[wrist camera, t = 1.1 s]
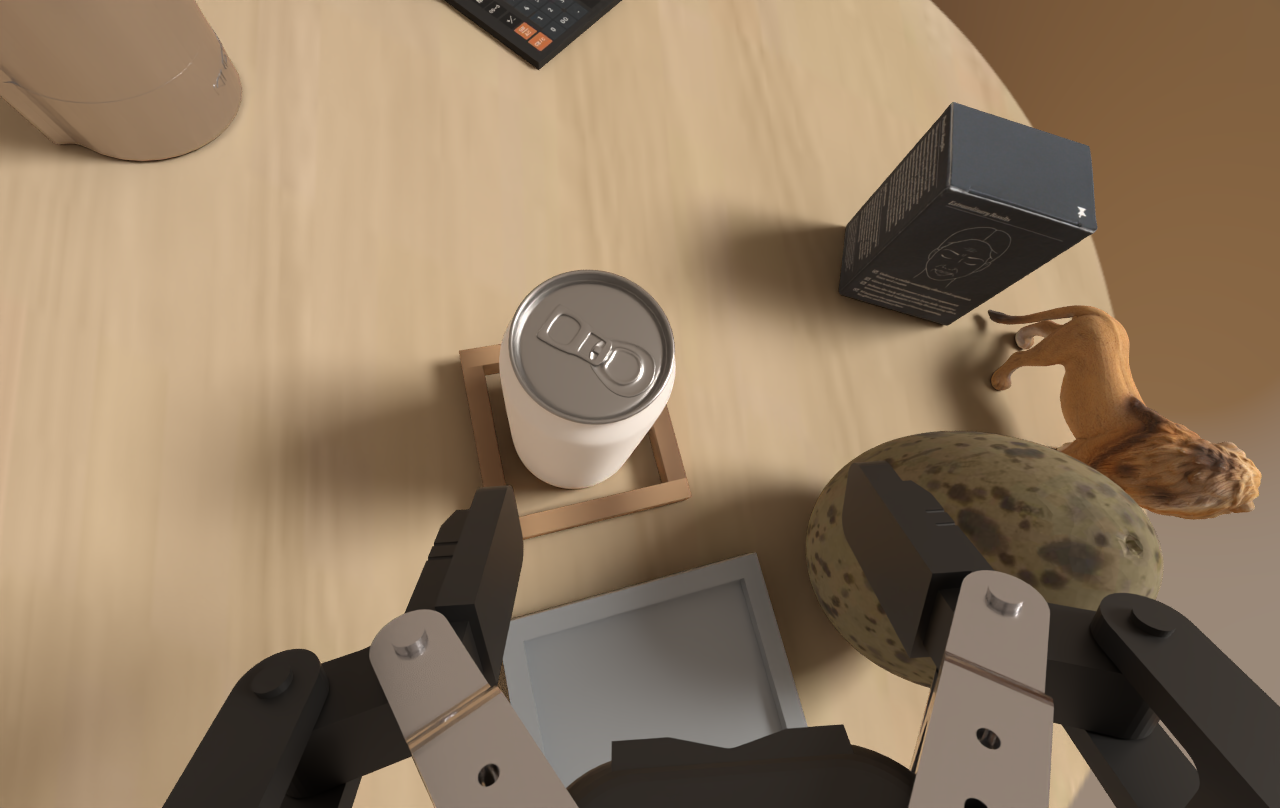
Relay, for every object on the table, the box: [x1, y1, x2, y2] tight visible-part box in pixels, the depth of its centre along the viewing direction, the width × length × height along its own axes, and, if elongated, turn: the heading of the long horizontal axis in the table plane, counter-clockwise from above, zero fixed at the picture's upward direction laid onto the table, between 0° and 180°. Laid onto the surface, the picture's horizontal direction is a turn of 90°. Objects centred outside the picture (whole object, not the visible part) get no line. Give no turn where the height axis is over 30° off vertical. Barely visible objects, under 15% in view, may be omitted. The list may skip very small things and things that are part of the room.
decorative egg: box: [806, 431, 1163, 688], centre depth 23 cm, size 11×11×15 cm
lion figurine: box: [988, 306, 1262, 519], centre depth 31 cm, size 15×5×9 cm, turn 18°
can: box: [499, 270, 675, 489], centre depth 24 cm, size 6×6×12 cm
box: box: [839, 102, 1097, 325], centre depth 32 cm, size 8×6×11 cm
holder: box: [459, 344, 692, 540], centre depth 29 cm, size 10×10×2 cm
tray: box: [503, 553, 808, 788], centre depth 26 cm, size 13×13×2 cm
